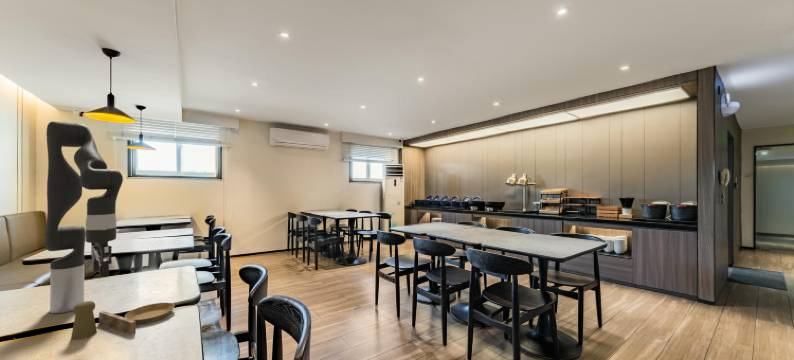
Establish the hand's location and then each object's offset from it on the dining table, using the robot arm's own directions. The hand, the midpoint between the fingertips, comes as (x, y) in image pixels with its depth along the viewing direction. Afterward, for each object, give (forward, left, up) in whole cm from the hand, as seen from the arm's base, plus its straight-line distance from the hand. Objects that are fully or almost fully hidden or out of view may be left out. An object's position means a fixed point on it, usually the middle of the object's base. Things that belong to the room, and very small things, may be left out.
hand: (100, 273), depth 103 cm
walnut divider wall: (+2, +4, -20) cm, 21 cm away
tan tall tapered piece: (-2, -3, -20) cm, 21 cm away
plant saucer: (+3, +14, -21) cm, 25 cm away
